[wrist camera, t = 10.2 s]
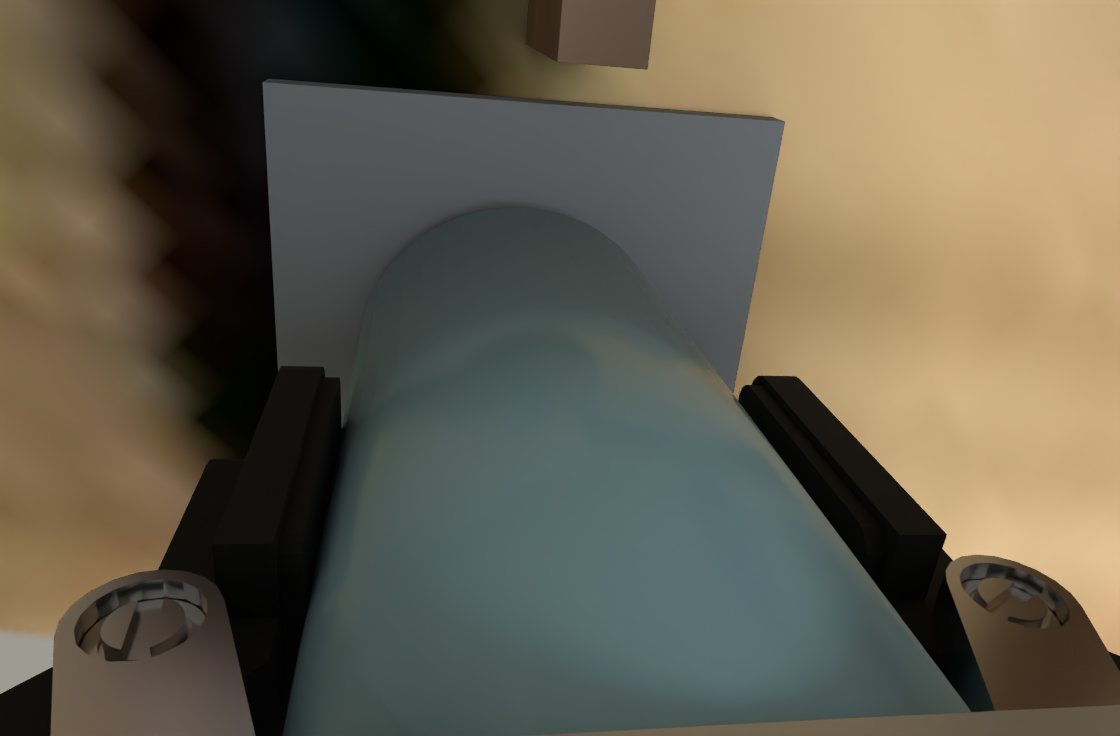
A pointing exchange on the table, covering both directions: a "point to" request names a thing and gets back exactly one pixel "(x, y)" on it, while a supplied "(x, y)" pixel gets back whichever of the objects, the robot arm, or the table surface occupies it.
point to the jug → (571, 519)
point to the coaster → (506, 199)
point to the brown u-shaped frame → (592, 31)
